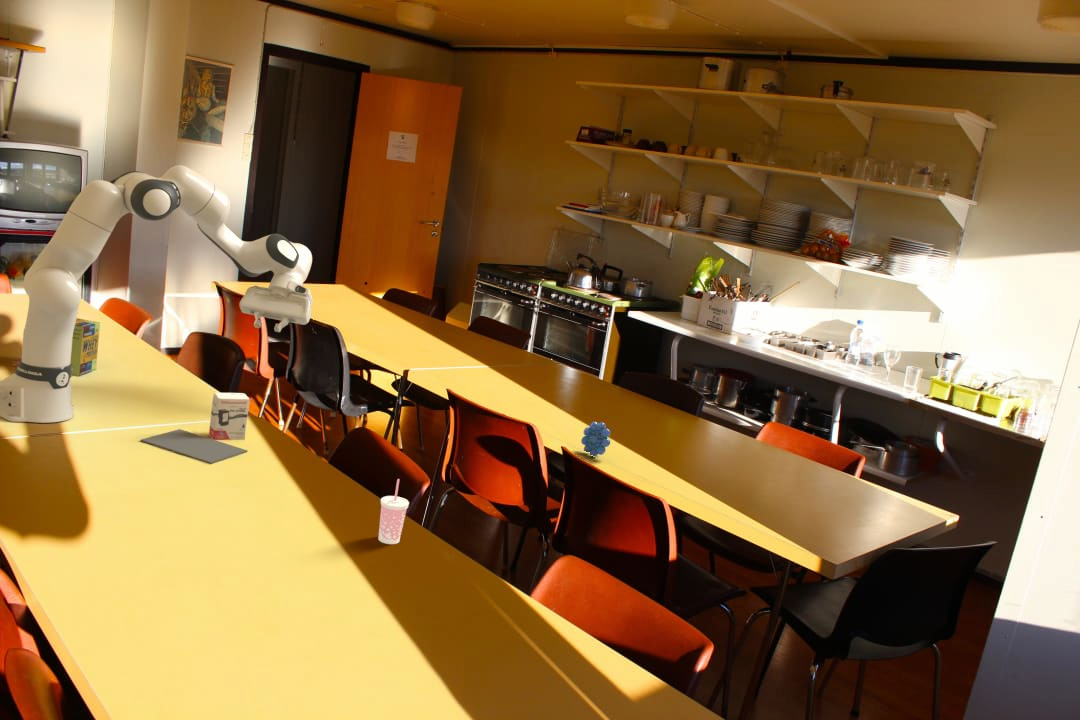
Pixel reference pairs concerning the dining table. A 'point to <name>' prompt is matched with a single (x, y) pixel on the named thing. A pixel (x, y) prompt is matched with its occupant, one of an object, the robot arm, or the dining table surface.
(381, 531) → the beverage cup
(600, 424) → the grapes
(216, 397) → the ink box
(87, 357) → the protein box
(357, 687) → the dining table surface
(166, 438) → the mat
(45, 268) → the robot arm
